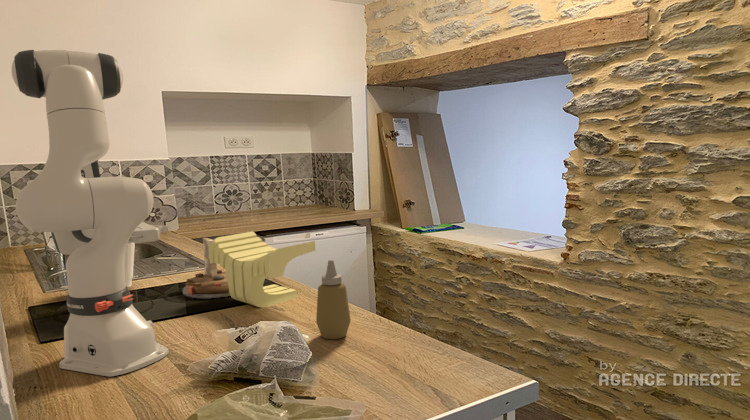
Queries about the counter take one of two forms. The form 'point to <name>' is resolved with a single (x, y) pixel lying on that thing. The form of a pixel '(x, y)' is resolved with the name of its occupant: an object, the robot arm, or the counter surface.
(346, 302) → the squeeze bottle
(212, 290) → the brown piece
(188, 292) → the base plate
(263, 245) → the slatted curved stool
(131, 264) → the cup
